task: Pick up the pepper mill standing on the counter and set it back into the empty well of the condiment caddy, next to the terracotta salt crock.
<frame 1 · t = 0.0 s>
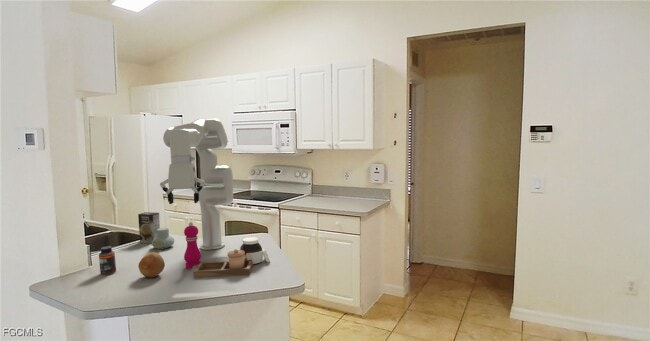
hand: (183, 203, 150), 31 cm above the counter, tool pointing down, fingers open, 9 cm apart
salt crock: (237, 270, 157), resting on caddy
pepper mill: (193, 266, 167), on the counter
air freshener: (163, 247, 198), on the counter
spread jar: (256, 264, 168), on the counter
caddy: (224, 274, 156), on the counter
onion: (152, 276, 156), on the counter
coffee box: (150, 241, 211), on the counter
supplement bottle: (108, 273, 161), on the counter
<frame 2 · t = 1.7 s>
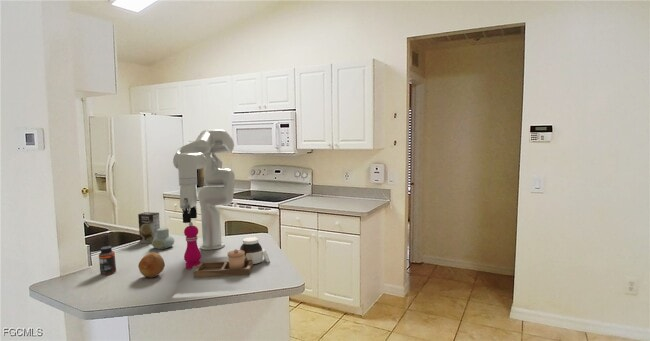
hand: (190, 220, 165), 21 cm above the counter, tool pointing down, fingers open, 9 cm apart
nothing on the counter moved.
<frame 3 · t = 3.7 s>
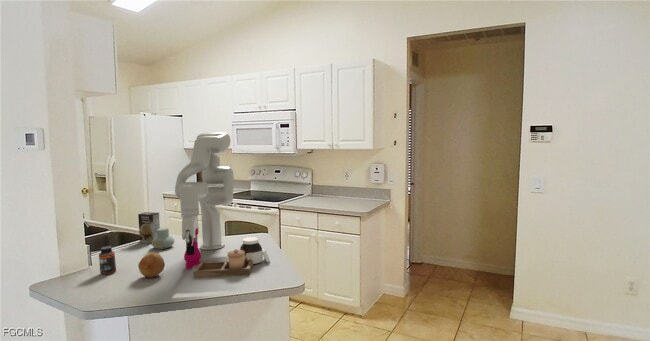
hand: (192, 252, 167), 7 cm above the counter, tool pointing down, fingers closed on pepper mill, 5 cm apart
pepper mill: (193, 266, 167), on the counter, touching gripper
everything else where it was.
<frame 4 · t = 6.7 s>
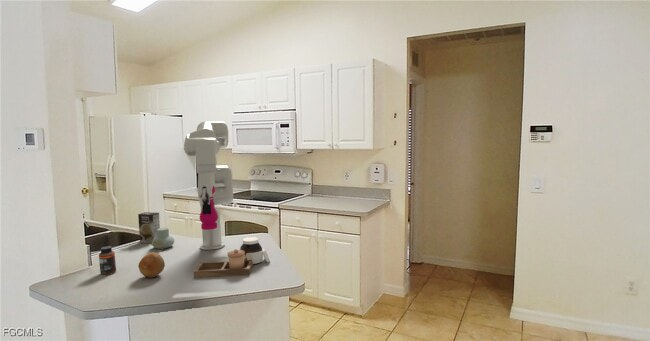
hand: (208, 212, 154), 26 cm above the counter, tool pointing down, fingers closed on pepper mill, 5 cm apart
pepper mill: (209, 228, 154), point 20 cm above the counter, touching gripper
everything else where it was.
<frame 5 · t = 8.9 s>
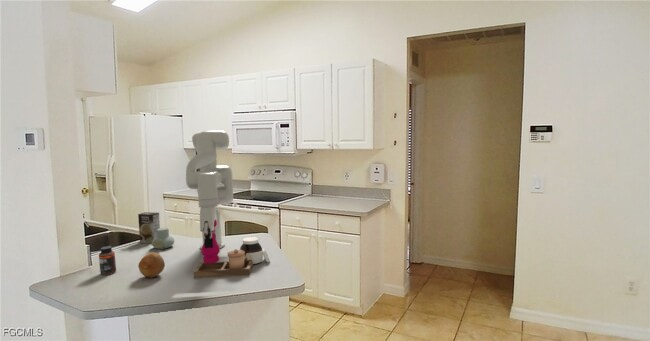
hand: (210, 245, 155), 13 cm above the counter, tool pointing down, fingers closed on pepper mill, 5 cm apart
pepper mill: (211, 261, 155), point 6 cm above the counter, touching gripper
everything else where it was.
when the fingers open (9 cm above the counter, at t = 10.2 s): pepper mill drops 1 cm, resting on caddy.
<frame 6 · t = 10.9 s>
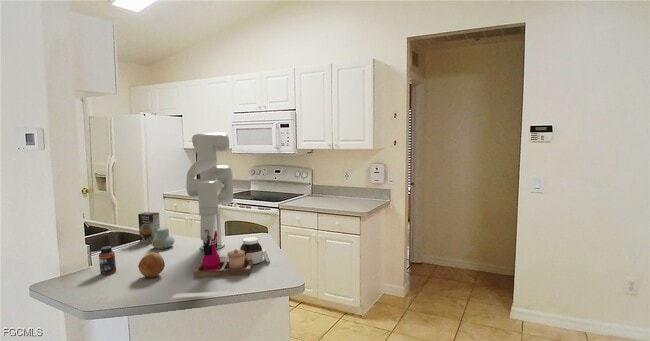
hand: (210, 251, 155), 10 cm above the counter, tool pointing down, fingers open, 9 cm apart
pepper mill: (211, 272, 156), point 1 cm above the counter, touching caddy
everything else where it was.
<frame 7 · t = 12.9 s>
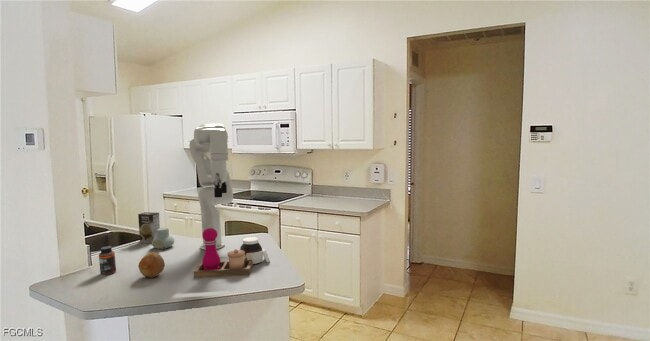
hand: (220, 195, 168), 31 cm above the counter, tool pointing down, fingers open, 9 cm apart
nothing on the counter moved.
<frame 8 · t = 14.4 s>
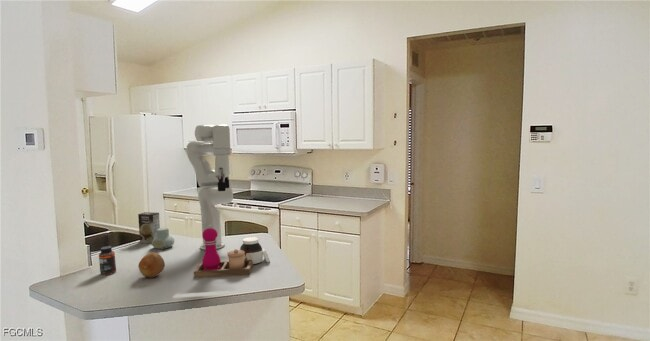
hand: (223, 189, 171), 33 cm above the counter, tool pointing down, fingers open, 9 cm apart
nothing on the counter moved.
at the end: pepper mill inside the target area on the caddy (0.2 cm from its centre), point 1.0 cm above the caddy's base; pepper mill tilted 0°; the gripper is holding nothing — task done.
